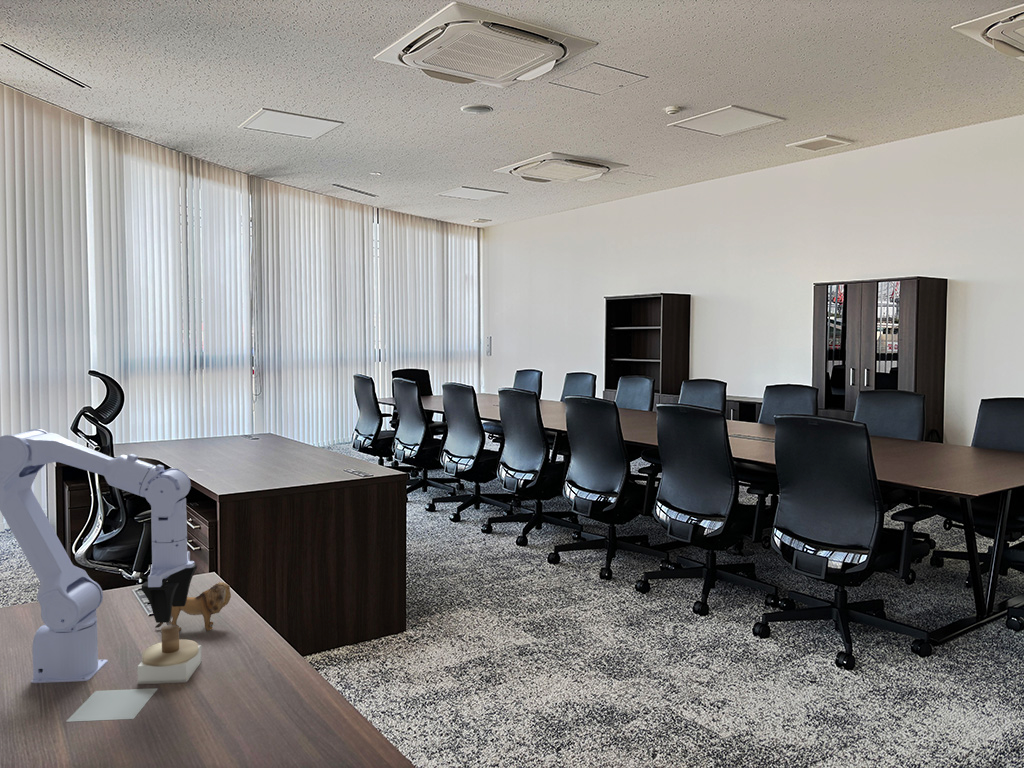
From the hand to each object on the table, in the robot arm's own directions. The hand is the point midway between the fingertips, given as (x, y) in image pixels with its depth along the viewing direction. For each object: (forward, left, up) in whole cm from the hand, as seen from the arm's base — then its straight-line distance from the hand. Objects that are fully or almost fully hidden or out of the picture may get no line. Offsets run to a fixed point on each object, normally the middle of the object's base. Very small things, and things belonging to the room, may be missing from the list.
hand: (171, 613), depth 131 cm
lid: (0, -2, -7) cm, 7 cm away
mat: (-5, -13, -10) cm, 17 cm away
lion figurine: (-2, +20, -11) cm, 23 cm away
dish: (0, -2, -10) cm, 11 cm away
